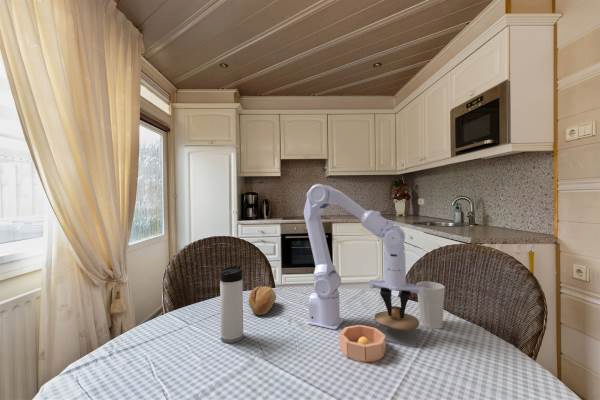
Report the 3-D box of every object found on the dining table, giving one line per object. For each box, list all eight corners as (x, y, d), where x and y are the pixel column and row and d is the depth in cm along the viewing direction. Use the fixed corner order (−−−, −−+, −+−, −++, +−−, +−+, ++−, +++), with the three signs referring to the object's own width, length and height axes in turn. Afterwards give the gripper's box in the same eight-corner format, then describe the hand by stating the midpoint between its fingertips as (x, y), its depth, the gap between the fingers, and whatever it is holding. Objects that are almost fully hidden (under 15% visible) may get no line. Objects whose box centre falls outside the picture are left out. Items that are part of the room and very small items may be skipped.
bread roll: (244, 318, 91) (244, 294, 92) (253, 302, 106) (253, 281, 107) (273, 317, 91) (272, 294, 91) (277, 302, 106) (277, 281, 106)
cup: (449, 330, 79) (448, 289, 80) (420, 328, 81) (419, 288, 81) (441, 319, 87) (440, 282, 87) (414, 317, 89) (413, 281, 89)
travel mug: (248, 334, 80) (247, 266, 80) (234, 345, 74) (232, 271, 74) (231, 330, 82) (230, 264, 83) (216, 340, 76) (215, 269, 77)
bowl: (334, 355, 68) (334, 339, 68) (348, 335, 78) (348, 322, 78) (379, 366, 63) (379, 350, 63) (388, 344, 72) (388, 330, 72)
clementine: (356, 350, 69) (356, 338, 69) (359, 345, 71) (359, 333, 72) (368, 353, 67) (368, 341, 67) (371, 347, 70) (370, 336, 70)
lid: (369, 323, 76) (369, 310, 76) (380, 311, 86) (380, 299, 86) (415, 333, 69) (415, 318, 70) (421, 318, 80) (421, 305, 80)
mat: (372, 338, 76) (372, 337, 76) (381, 323, 85) (381, 321, 85) (415, 347, 71) (415, 346, 71) (419, 330, 80) (419, 328, 80)
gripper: (366, 269, 78) (367, 316, 78) (421, 274, 71) (422, 326, 71) (372, 264, 84) (373, 308, 84) (423, 268, 78) (424, 316, 77)
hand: (396, 315), depth 78 cm, fingers closed on lid, 3 cm apart
